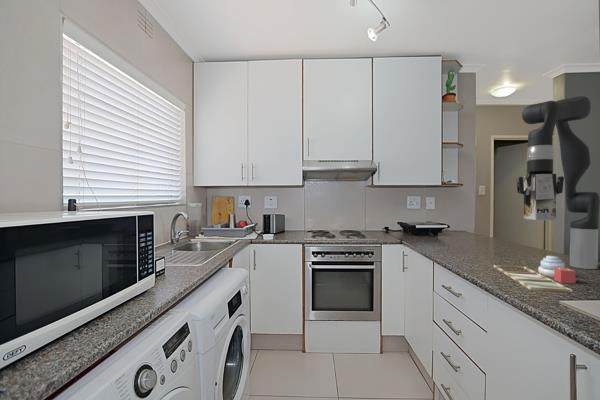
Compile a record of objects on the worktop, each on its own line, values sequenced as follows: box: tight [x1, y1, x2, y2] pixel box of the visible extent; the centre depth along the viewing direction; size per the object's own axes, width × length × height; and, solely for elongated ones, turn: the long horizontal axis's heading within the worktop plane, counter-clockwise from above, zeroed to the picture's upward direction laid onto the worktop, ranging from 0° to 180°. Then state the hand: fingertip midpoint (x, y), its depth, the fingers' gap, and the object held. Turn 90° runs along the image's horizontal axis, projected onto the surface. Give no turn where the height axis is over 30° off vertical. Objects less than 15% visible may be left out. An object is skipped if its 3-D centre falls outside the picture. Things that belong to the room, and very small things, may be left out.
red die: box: [553, 267, 577, 284], centre depth 118 cm, size 4×4×5 cm
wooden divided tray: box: [493, 264, 573, 293], centre depth 124 cm, size 35×12×1 cm, turn 166°
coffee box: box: [523, 173, 557, 222], centre depth 114 cm, size 9×6×16 cm
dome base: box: [537, 265, 554, 278], centre depth 129 cm, size 9×9×2 cm
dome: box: [539, 255, 566, 270], centre depth 129 cm, size 8×8×5 cm
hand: (539, 205), depth 114 cm, fingers closed on coffee box, 6 cm apart
